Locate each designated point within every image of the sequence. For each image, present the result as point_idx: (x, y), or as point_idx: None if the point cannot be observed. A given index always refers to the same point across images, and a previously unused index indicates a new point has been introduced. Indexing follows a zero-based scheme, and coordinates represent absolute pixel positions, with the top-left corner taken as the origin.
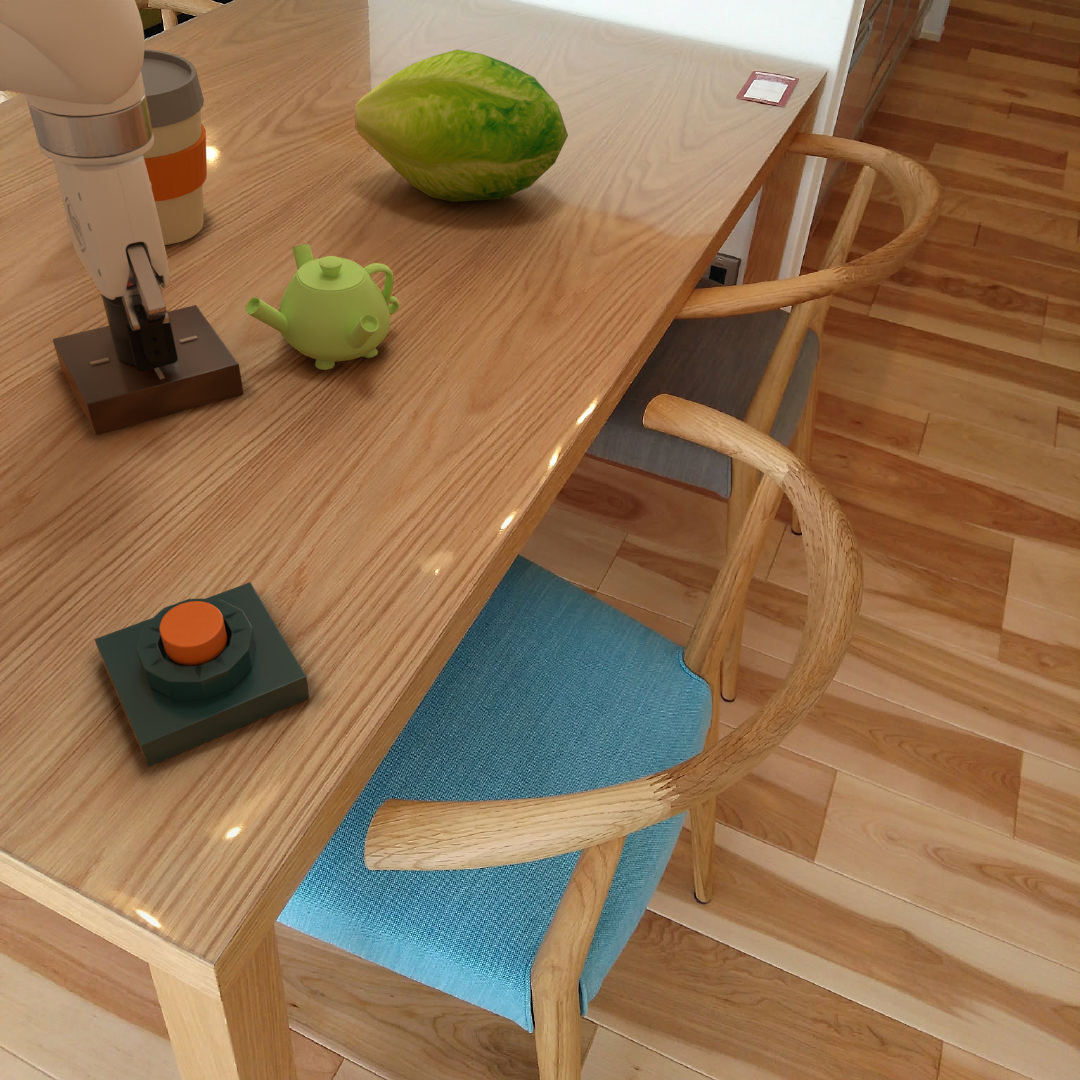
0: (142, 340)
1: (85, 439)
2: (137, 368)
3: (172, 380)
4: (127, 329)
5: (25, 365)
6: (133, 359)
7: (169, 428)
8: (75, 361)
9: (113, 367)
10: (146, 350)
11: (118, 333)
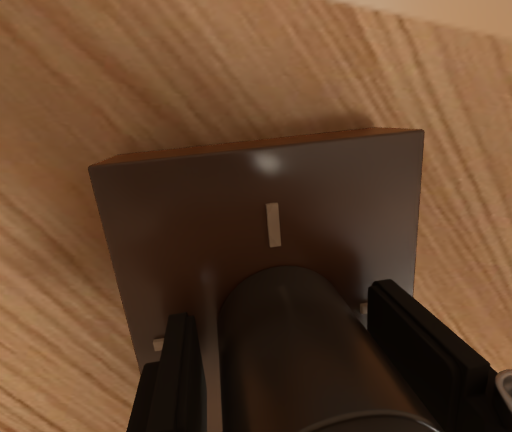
0: (142, 420)
1: (108, 131)
2: (168, 317)
3: (141, 361)
4: (151, 427)
5: (422, 57)
6: (228, 306)
7: (103, 288)
8: (300, 169)
9: (239, 251)
10: (137, 396)
11: (254, 337)
